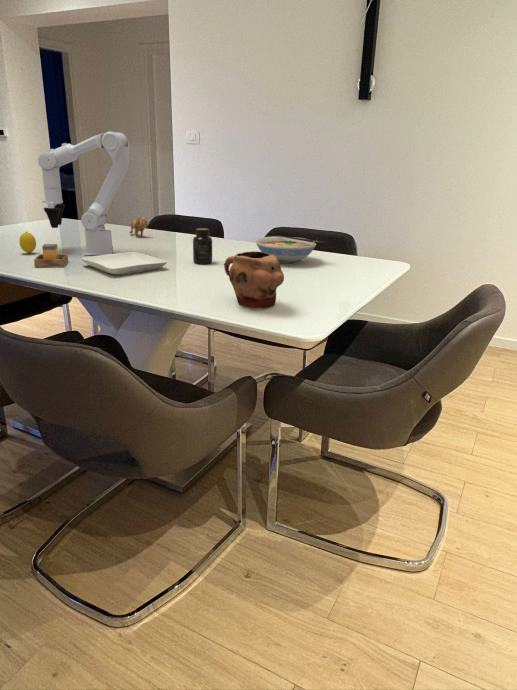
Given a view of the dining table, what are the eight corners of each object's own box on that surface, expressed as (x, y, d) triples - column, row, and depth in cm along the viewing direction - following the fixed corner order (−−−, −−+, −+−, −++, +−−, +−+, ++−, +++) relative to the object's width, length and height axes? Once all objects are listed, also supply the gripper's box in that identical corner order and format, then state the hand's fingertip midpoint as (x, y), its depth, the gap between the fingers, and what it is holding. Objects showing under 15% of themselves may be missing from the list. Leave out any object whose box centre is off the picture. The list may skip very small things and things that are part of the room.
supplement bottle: (215, 262, 186) (216, 228, 182) (206, 265, 180) (206, 231, 176) (199, 260, 188) (199, 226, 184) (189, 263, 183) (189, 229, 178)
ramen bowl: (239, 259, 192) (240, 237, 189) (279, 252, 208) (280, 232, 205) (291, 271, 176) (292, 248, 174) (330, 263, 192) (332, 241, 189)
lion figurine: (151, 238, 228) (150, 217, 224) (140, 239, 224) (139, 218, 221) (134, 233, 238) (133, 213, 234) (124, 234, 234) (122, 214, 231)
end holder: (68, 261, 178) (67, 254, 178) (64, 267, 170) (63, 259, 169) (40, 261, 177) (39, 254, 176) (34, 267, 168) (33, 259, 167)
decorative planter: (208, 302, 139) (208, 250, 134) (235, 293, 148) (236, 244, 143) (269, 317, 129) (272, 262, 124) (294, 306, 138) (297, 255, 133)
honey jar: (46, 261, 175) (44, 243, 172) (59, 261, 175) (57, 243, 173) (44, 264, 171) (42, 246, 169) (56, 264, 172) (55, 246, 170)
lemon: (26, 255, 184) (23, 233, 181) (17, 253, 187) (14, 231, 184) (40, 253, 188) (37, 231, 185) (32, 251, 191) (29, 229, 188)
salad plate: (134, 259, 187) (134, 250, 185) (169, 270, 173) (168, 260, 172) (79, 267, 173) (79, 257, 171) (112, 279, 159) (111, 268, 157)
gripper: (44, 186, 191) (48, 223, 196) (36, 189, 177) (41, 229, 182) (64, 186, 192) (68, 223, 197) (58, 189, 179) (62, 229, 184)
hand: (56, 226), depth 190 cm, fingers open, 7 cm apart
